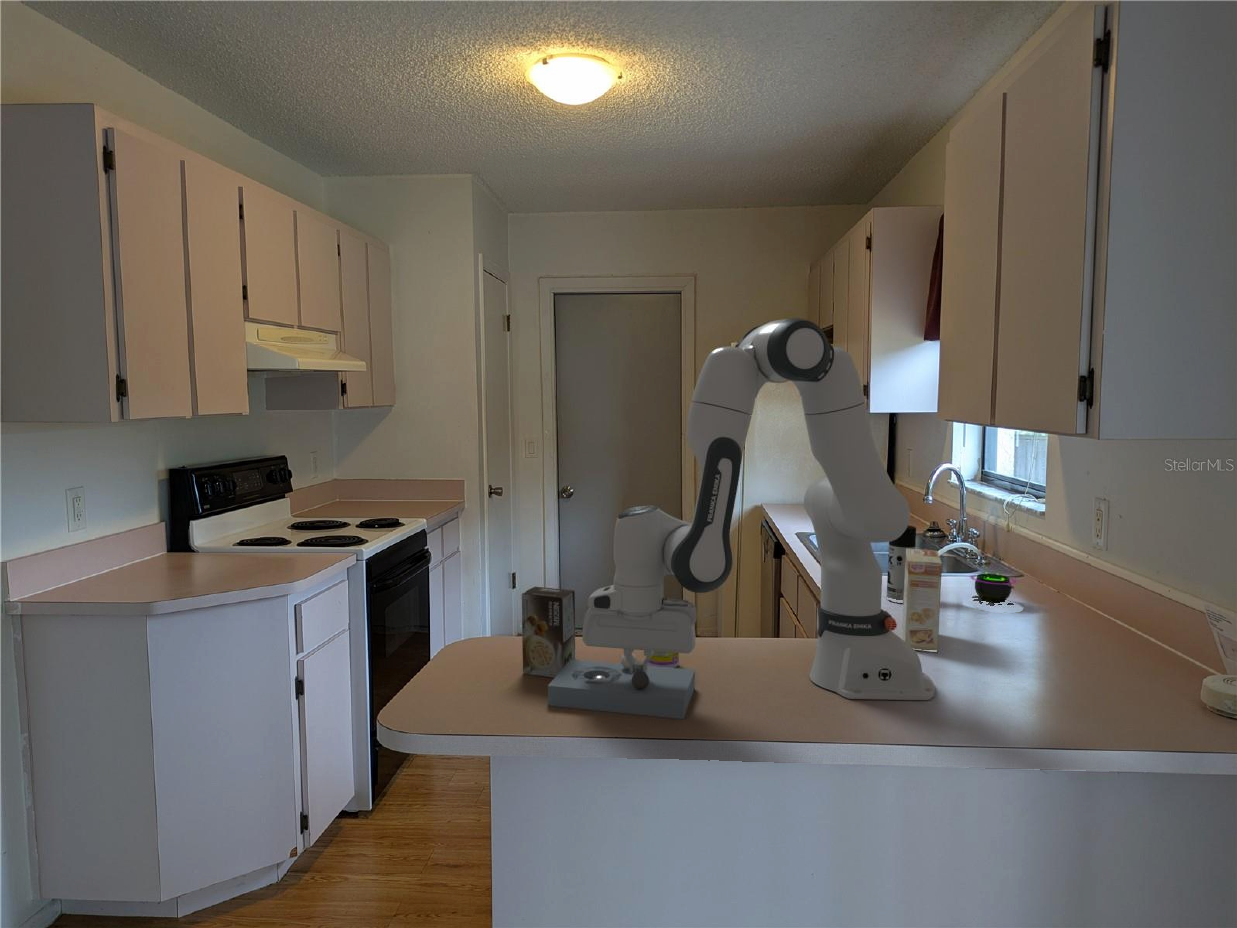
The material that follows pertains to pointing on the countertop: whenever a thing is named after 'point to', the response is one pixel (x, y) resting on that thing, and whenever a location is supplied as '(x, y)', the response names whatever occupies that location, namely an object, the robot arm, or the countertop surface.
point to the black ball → (640, 680)
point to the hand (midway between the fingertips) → (638, 672)
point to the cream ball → (626, 662)
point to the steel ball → (598, 677)
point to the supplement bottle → (664, 659)
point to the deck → (622, 689)
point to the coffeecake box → (922, 599)
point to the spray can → (899, 562)
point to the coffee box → (547, 630)
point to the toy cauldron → (992, 588)
